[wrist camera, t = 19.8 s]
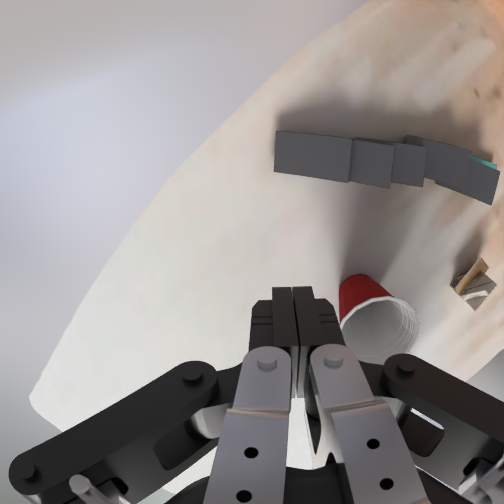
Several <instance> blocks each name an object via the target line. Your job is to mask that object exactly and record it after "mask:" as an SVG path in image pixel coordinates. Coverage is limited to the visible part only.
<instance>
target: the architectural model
mask: <svg viewBox="0 0 504 504" xmlns="http://www.w3.org/2000/svg"><path fill="white" fill-rule="evenodd" d="M488 269H489V267H488V266H487V264H486V263H485V262H484V260H483V259H482V257H480V258H479V259H478V260H477V261H476V263H475V264H474V265H473V267H472V268H471V269H470V270H469V271H468V273H467V274H465V275H462V276H459V277H458V278H457V279H458V280H459V281H460V282H459V284H458V285H457V286H456V287H455V288H453V287H452V286H451V285H450V287H451V288H452V289H453V290H454V291H455V292H456V293H457V294H458V295H459V296H460V297H461V298H462V299H463V301H466V302H467V303H468V304H469V305H470V306H471V307H472V308H473V310H474V311H475V312H476V311H477V309H478V308H479V307H480V306H481V305H482V304H483V302H484V301H485V300H486V299H487V298H488V297H489V295H490V294H491V293H492V292H493V290H494V289H495V288H496V287H497V284H496V283H495V282H494V281H492V280H491V279H490V278H489V277H488V276H487V275H485V272H486V271H487V270H488Z"/></svg>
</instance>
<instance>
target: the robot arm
mask: <svg viewBox="0 0 504 504" xmlns="http://www.w3.org/2000/svg"><path fill="white" fill-rule="evenodd" d="M296 391H297V398H303V397H304V398H305V411H304V419H305V424H306V429H307V434H308V440H309V445H310V450H311V456H312V464H313V468H312V470H304V469H298V468H292V467H286V458H287V443H288V427H289V413H290V410H291V398H295V392H296ZM412 408H414V409H415V410H417V411H419V412H420V413H422V414H424V415H425V416H427V417H429V418H430V419H432V420H434V421H436V422H437V423H439V424H440V425H442V427H443V428H444V430H443V429H440V428H438V427H436V426H434V425H433V424H431V423H429V422H428V421H426V420H424V419H423V418H421V417H419V416H418V415H416V414H414V413H413V412H411V410H412ZM217 445H218V446H217ZM216 446H217V450H216V454H215V458H214V462H213V466H212V470H211V474H210V476H207V477H204V478H202V479H200V480H198V481H195V482H193V483H192V484H190V485H188V486H187V487H185V488H184V489H183V490H181V491H180V492H179V493H177V494H176V495H175V496H174V497H172V498H171V499H170V500H169V501H167V502H166V503H164V504H504V402H502V401H500V400H498V399H496V398H494V397H493V396H491V395H489V394H487V393H485V392H483V391H481V390H479V389H477V388H475V387H473V386H471V385H469V384H467V383H466V382H464V381H462V380H460V379H458V378H456V377H454V376H452V375H450V374H448V373H446V372H445V371H443V370H441V369H439V368H437V367H435V366H433V365H431V364H429V363H428V362H426V361H424V360H422V359H420V358H418V357H416V356H414V355H411V354H405V353H400V354H395V355H392V356H390V357H389V358H387V360H386V361H385V363H384V365H380V364H372V363H366V362H363V361H360V360H358V359H357V357H356V355H355V353H354V352H353V351H352V350H351V349H349V348H348V347H346V344H345V341H344V338H343V335H342V331H341V328H340V325H339V323H338V319H337V316H336V313H335V310H334V307H333V305H332V304H331V303H330V302H329V301H328V300H326V299H325V298H324V299H315V298H314V294H313V290H312V287H311V286H303V287H292V290H291V287H272V300H258V302H257V303H256V304H255V305H254V306H253V308H252V318H251V329H250V340H249V351H248V353H247V354H246V355H245V357H244V359H243V362H242V363H240V364H239V365H237V366H235V367H232V368H229V369H225V370H220V371H216V370H215V368H214V367H213V366H211V365H210V364H208V363H206V362H202V361H188V362H184V363H182V364H180V365H178V366H176V367H175V368H173V369H171V370H170V371H168V372H166V373H165V374H163V375H162V376H160V377H158V378H157V379H155V380H153V381H152V382H150V383H149V384H147V385H145V386H144V387H142V388H140V389H139V390H137V391H135V392H134V393H132V394H130V395H128V396H127V397H125V398H123V399H122V400H120V401H118V402H116V403H115V404H113V405H111V406H110V407H108V408H106V409H104V410H103V411H101V412H99V413H97V414H95V415H94V416H92V417H90V418H88V419H87V420H85V421H83V422H81V423H79V424H77V425H76V426H74V427H72V428H70V429H68V430H66V431H64V432H63V433H61V434H59V435H57V436H55V437H53V438H51V439H49V440H47V441H46V442H44V443H42V444H40V445H38V446H36V447H34V448H32V449H30V450H28V451H26V452H24V453H22V454H20V455H18V456H17V457H16V458H15V459H14V460H13V461H12V463H11V465H10V468H9V480H10V482H11V484H12V486H13V487H14V489H15V490H17V491H18V492H19V493H20V494H21V495H23V496H24V497H25V498H26V499H28V500H29V501H30V502H31V503H32V504H137V503H138V502H140V501H141V500H143V499H144V498H146V497H147V496H149V495H150V494H152V493H154V492H155V491H157V490H158V489H160V488H161V487H162V486H164V485H165V484H167V483H168V482H170V481H171V480H172V479H174V478H175V477H177V476H178V475H179V474H181V473H182V472H183V471H185V470H186V469H188V468H189V467H190V466H192V465H193V464H194V463H196V462H197V461H198V460H199V459H201V458H202V457H203V456H205V455H206V454H207V453H208V452H210V451H211V450H212V449H213V448H215V447H216ZM415 465H416V466H418V467H420V468H421V469H423V470H424V471H426V472H428V473H429V474H431V475H432V476H434V477H436V478H438V479H439V480H441V481H443V482H444V483H446V484H447V485H449V486H451V487H453V488H454V489H456V490H458V493H456V492H455V491H453V490H452V489H450V488H448V487H447V486H445V485H444V484H442V483H441V482H439V481H438V480H436V479H435V478H433V477H432V476H430V475H428V474H427V473H425V472H424V471H422V470H420V469H418V468H416V467H415Z"/></svg>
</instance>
